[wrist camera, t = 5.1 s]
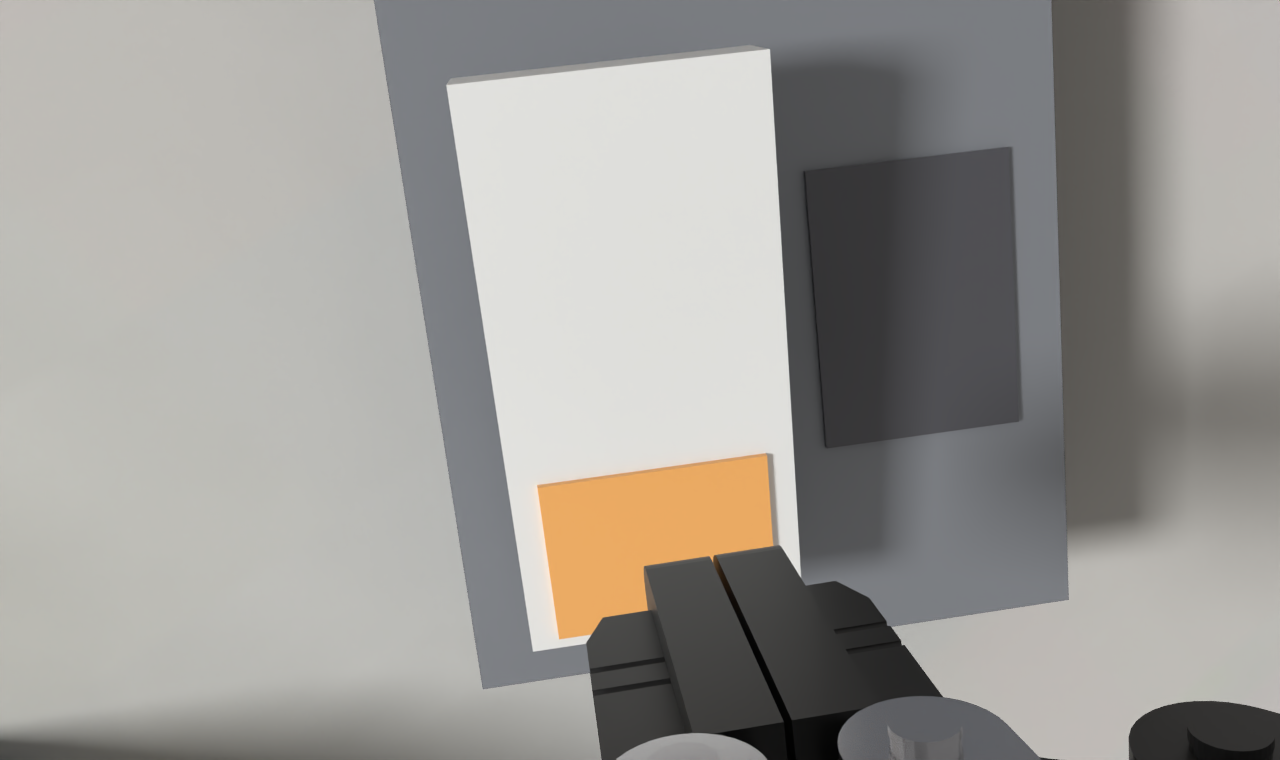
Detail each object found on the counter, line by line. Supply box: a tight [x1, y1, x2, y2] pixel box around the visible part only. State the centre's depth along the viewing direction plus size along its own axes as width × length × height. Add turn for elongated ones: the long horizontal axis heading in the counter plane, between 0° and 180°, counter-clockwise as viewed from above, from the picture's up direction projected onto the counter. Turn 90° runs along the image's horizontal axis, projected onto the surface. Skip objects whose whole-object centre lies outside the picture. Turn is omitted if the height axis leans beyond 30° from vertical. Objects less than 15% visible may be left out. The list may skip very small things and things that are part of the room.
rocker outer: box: [446, 45, 801, 652], centre depth 16 cm, size 8×4×1 cm, turn 6°
